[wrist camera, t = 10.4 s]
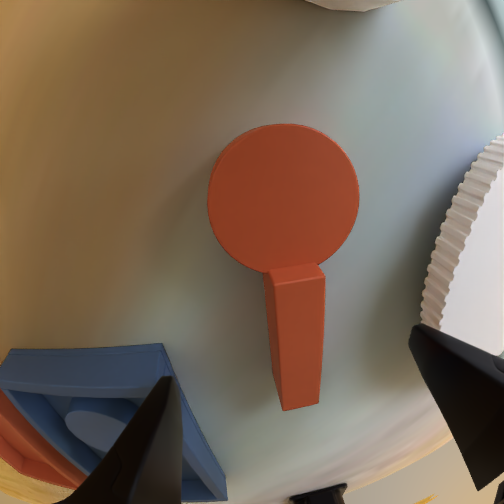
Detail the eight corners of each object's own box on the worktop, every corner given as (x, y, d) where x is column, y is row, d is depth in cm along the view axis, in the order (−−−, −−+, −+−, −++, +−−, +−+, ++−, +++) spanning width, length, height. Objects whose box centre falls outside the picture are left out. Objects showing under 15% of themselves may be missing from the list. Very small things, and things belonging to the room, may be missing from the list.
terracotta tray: (95, 471, 17) (91, 493, 15) (25, 456, 16) (20, 473, 14) (-14, 347, 11) (-32, 374, 8) (-68, 342, 10) (-82, 361, 8)
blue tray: (225, 475, 18) (228, 500, 16) (119, 474, 17) (117, 497, 15) (162, 342, 11) (155, 386, 9) (11, 348, 11) (-8, 378, 9)
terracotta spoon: (334, 359, 13) (351, 395, 11) (241, 378, 13) (247, 418, 11) (337, 121, 9) (372, 121, 7) (198, 133, 8) (193, 134, 6)
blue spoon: (188, 472, 16) (189, 499, 14) (132, 471, 16) (130, 496, 14) (129, 388, 12) (121, 428, 10) (57, 387, 12) (44, 420, 9)
